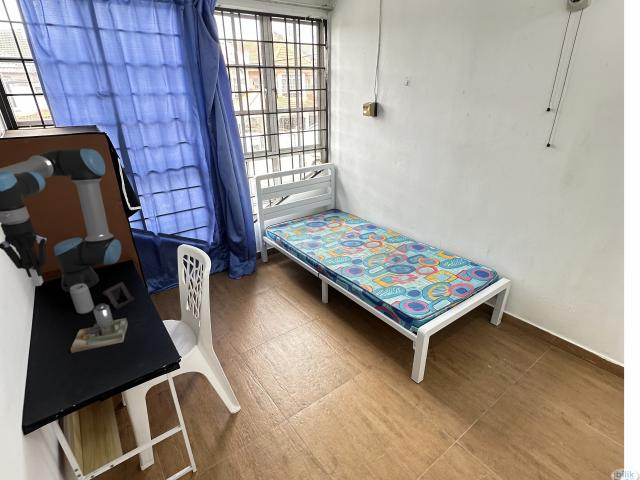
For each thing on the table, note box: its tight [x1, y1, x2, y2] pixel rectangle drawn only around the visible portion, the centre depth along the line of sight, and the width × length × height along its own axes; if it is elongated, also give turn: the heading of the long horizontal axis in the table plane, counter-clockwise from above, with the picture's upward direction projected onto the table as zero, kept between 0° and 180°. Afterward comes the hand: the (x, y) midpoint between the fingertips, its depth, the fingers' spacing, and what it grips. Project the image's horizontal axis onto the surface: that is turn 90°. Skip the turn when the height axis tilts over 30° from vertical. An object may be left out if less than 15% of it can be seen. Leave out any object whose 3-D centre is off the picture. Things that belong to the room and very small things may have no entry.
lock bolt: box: [82, 327, 100, 340], centre depth 125 cm, size 4×5×2 cm
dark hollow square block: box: [102, 281, 135, 311], centre depth 147 cm, size 9×8×8 cm
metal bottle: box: [92, 302, 116, 336], centre depth 125 cm, size 5×5×12 cm
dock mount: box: [70, 318, 129, 354], centre depth 126 cm, size 12×16×4 cm
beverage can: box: [69, 283, 95, 315], centre depth 141 cm, size 6×6×12 cm
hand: (39, 283), depth 116 cm, fingers closed
